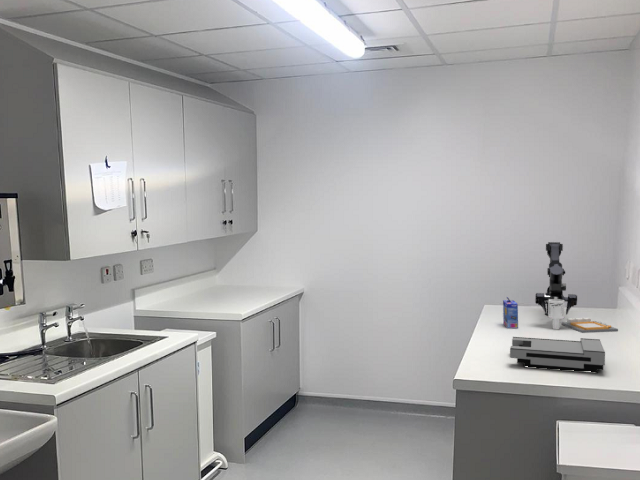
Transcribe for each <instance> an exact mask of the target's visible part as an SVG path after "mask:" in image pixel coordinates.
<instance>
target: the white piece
mask: <svg viewBox="0 0 640 480" xmlns="http://www.w3.org/2000/svg"><path fill="white" fill-rule="evenodd" d="M550 303H554V304H550ZM562 303H563V304H562ZM557 304H562V305H558V306H555V305H557ZM552 305H554V306H552ZM553 307H554V308H553ZM547 317H548V318H550V319H552V329H553V330H560V320H562V319H564V318H565V301H564V300H562V299H557V297H554V299H549V300H548V315H547Z"/></svg>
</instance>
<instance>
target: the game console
mask: <svg viewBox="0 0 640 480" xmlns="http://www.w3.org/2000/svg"><path fill="white" fill-rule="evenodd" d="M509 348H510V349H509V356H510V357H509V359H516V363H518V364H523V367H524V366H528V367H536V368H535V369H539V368H547V369H546V370H550V369H560V370H559V371H562V370H574V371H591V372H597V373H598V370H602V371H603V370H604V366H606V351H605V349H604V346H603V344H602V341H601V339H596V338H582V337H581V338H580V340H579V341H578V340H566V339H565V340H564V339H550V338H540V337H537V338H535V337H525V336H524V337H523V336H522V337H521V336H520V337H519V336H512V339H511V346H510V347H509ZM574 371H573V372H574Z"/></svg>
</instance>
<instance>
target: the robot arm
mask: <svg viewBox="0 0 640 480" xmlns="http://www.w3.org/2000/svg"><path fill="white" fill-rule="evenodd" d="M563 249H564V245H563V243H561V242H560V241H559V242H558V241H556V242H554V241H550V242H549V241H548V242H547V243H546V244H545V251H546V254H547V256H548V258H549V263H548V267H547V268H546V269H547V270H546V272H547V274H546V275H547V276H548V278H549V285H548V287H547V290H546V292H545V293H544V292H543V293H542V292H536V293H535V299H534V301H535V304H536V305H538V306H540V307H541V308H542V309H543V312H544V315H545V316H548V300H549V299H554V297H557V299H562V300H564V303H565V302H566V311H565V315H566V316H567V315H568V314H569V311H570V310H571V309H572V307H575V306H577V305H578V295H577V294H573V293H572V294H571V293H569V294H567V296H564V294H563V291H564V292H566V291H567V283H563V276H564V275H565V274H566V270H565V269H564V268H563V264H562V263H561V262H560V256H561V254H562V252H563V251H564V250H563ZM550 304H554V303H550ZM562 304H563V303H562ZM562 304H557V305H555V306H558V305H562ZM552 306H554V305H552ZM553 308H554V307H553Z"/></svg>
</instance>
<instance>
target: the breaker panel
mask: <svg viewBox="0 0 640 480" xmlns="http://www.w3.org/2000/svg"><path fill="white" fill-rule="evenodd" d="M591 319H592V318H590V317H578V318H577V317H576V318H566V322H565V321H564V322H561V325H562V326H564V327H566V328H569V329H572V330H574V331H577V332H580V333H584V334H585V333H604V332H606V333H607V332H619V328H616V327H613V326H612V325H608V324H607V323H602V322H601V321H596V320H594V321H593V320H591Z"/></svg>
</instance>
